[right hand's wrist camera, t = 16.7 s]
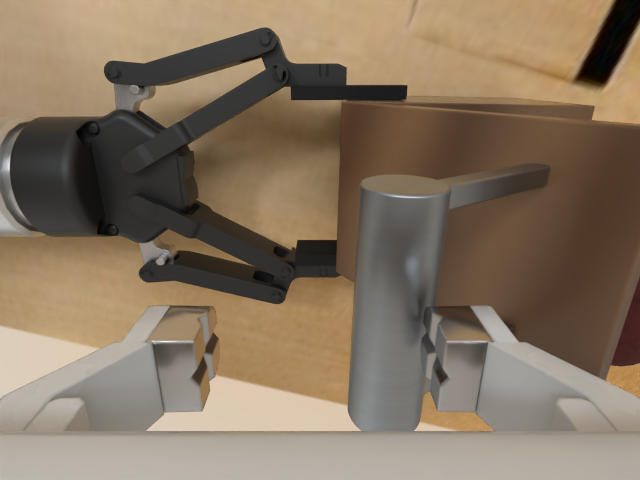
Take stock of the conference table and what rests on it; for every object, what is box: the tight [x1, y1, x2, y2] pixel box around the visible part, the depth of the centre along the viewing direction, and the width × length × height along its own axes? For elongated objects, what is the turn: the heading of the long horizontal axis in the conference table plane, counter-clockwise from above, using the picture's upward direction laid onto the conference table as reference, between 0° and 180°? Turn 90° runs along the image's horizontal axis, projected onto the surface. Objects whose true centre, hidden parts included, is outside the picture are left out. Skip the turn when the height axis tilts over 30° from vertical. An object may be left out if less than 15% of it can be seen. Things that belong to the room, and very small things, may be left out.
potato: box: [611, 277, 640, 366], centre depth 33 cm, size 7×8×7 cm
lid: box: [336, 101, 640, 431], centre depth 16 cm, size 14×10×8 cm
